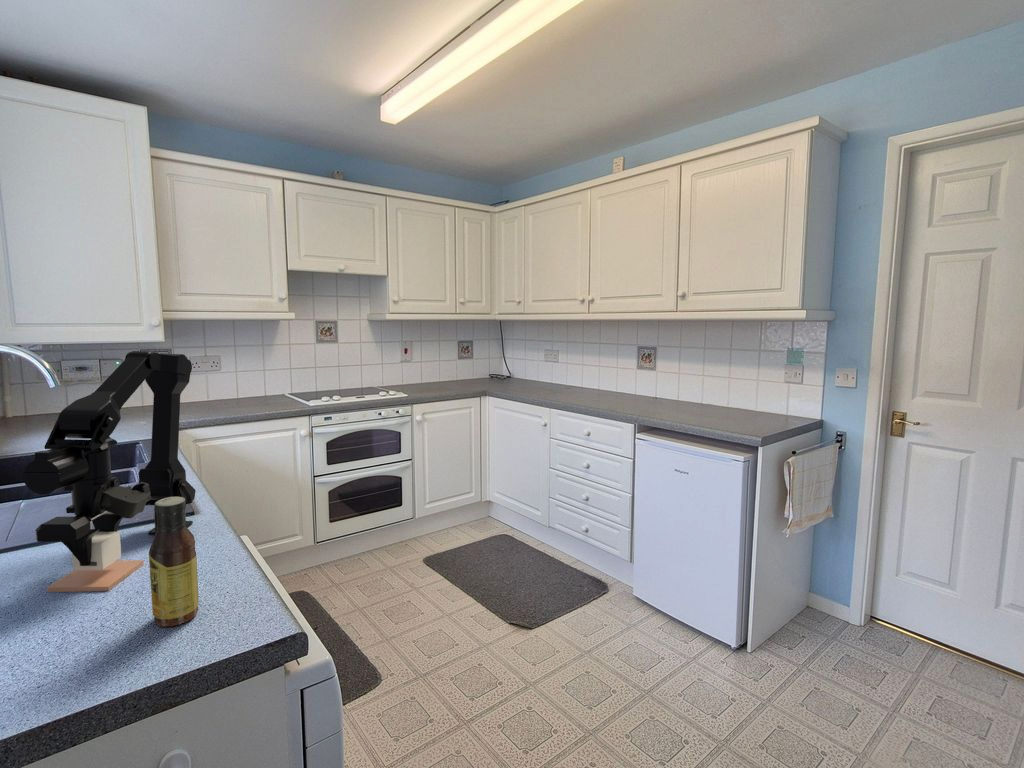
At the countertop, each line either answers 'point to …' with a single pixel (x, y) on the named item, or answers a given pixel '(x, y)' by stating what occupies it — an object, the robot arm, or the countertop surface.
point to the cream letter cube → (101, 551)
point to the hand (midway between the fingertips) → (97, 558)
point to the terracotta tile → (96, 577)
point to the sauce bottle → (173, 565)
